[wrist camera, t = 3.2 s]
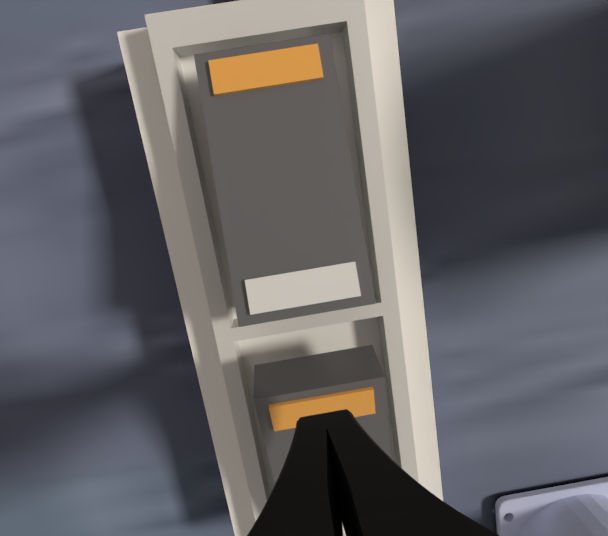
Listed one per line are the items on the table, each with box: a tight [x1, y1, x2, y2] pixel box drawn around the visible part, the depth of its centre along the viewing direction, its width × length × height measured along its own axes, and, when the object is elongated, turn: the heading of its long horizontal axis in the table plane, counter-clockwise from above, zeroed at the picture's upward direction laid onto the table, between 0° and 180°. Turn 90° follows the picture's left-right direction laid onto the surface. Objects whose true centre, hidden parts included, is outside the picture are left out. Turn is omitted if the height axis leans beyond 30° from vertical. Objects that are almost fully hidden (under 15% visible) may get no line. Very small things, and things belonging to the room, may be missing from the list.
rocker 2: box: [254, 345, 390, 536], centre depth 15 cm, size 8×4×2 cm, turn 9°
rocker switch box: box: [117, 0, 443, 536], centre depth 16 cm, size 27×9×4 cm, turn 9°
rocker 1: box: [194, 34, 376, 327], centre depth 13 cm, size 8×4×2 cm, turn 9°
